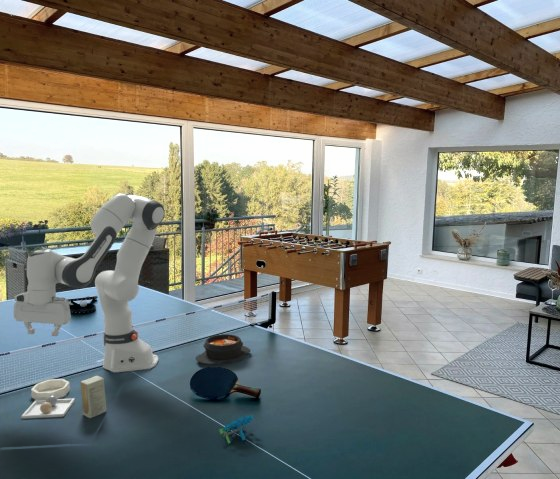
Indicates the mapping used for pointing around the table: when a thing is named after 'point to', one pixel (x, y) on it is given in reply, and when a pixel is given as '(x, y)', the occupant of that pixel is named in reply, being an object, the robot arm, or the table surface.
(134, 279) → the robot arm
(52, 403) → the pebble slate
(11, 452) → the table surface
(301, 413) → the table surface
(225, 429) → the blue plastic piece
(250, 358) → the table surface
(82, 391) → the skincare box
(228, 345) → the casserole
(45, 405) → the pebble sand
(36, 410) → the parts tray
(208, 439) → the table surface
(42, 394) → the bowl
